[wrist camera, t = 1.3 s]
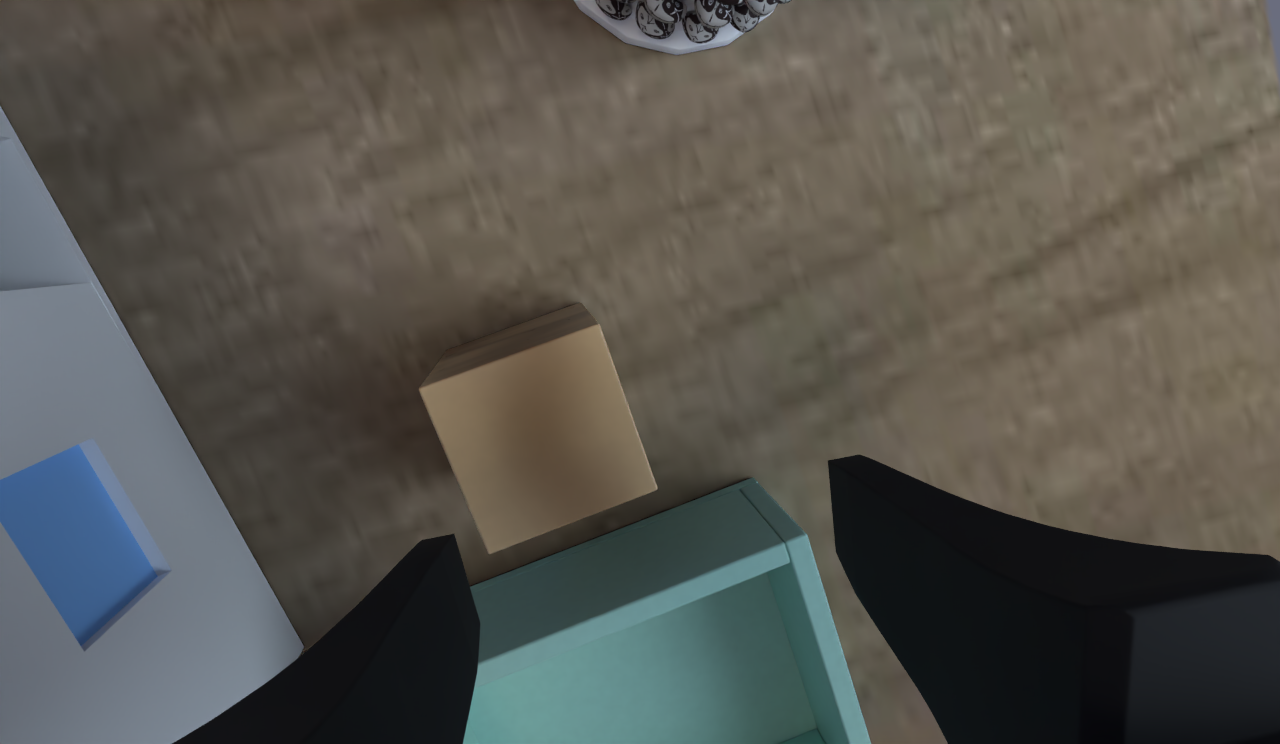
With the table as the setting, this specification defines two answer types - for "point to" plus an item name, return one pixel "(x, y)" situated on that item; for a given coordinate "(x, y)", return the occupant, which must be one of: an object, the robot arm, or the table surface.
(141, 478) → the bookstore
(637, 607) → the desk bin
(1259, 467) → the table surface
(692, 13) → the decorative candle
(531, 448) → the beech block
